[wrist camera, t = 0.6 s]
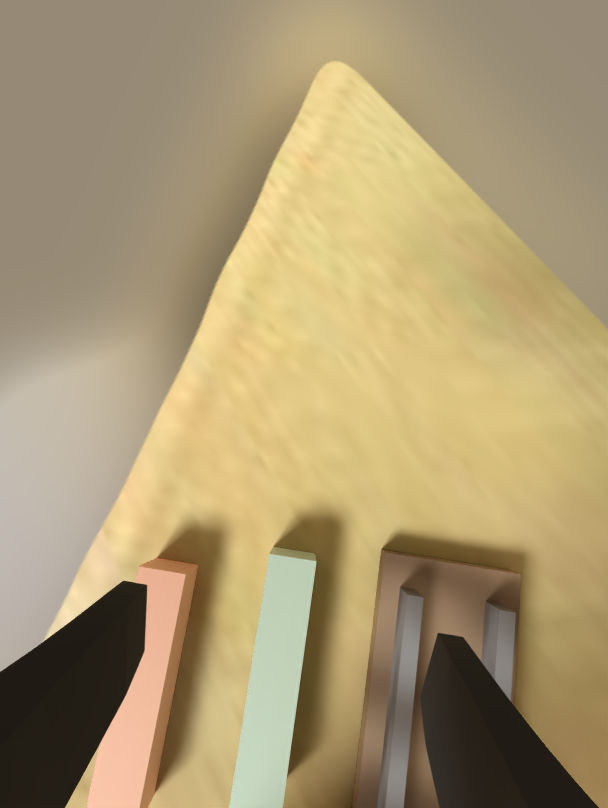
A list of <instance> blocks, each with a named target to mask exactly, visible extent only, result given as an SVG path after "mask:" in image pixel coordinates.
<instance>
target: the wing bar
mask: <svg viewBox="0 0 608 808" xmlns="http://www.w3.org/2000/svg"><path fill="white" fill-rule="evenodd" d="M197 571H198V565H197V564H191V563H185V562H179V561H173V560H167V559H161V558H155V559H153V560H151V561H149V562H147V563H145V564H143V565H141V566H139V568H138V572H137V577H136V582H135V583H140V584H146V585H147V609H146V632H145V651H144V654H143V656H142V659H141V661H140V663H139V666H138V668H137V671H136V673H135V676H134V678H133V680H132V683H131V685H130V687H129V689H128V692H127V694H126V696H125V698H124V700H123V702H122V704H121V706H120V708H119V709H118V711H117V713H116V715H115V717H114V719H113V720H112V722H111V724H110V726H109V728H108V730H107V732H106V733H105V735H104V737H103V739H102V741H101V743H100V746H99V751H98V756H97V760H96V765H95V769H94V774H93V779H92V783H91V788H90V792H89V797H88V801H87V806H86V808H148V806H149V804H150V802H151V800H152V798H153V796H154V794H155V788H156V783H157V778H158V773H159V768H160V762H161V757H162V752H163V747H164V742H165V737H166V731H167V726H168V721H169V716H170V711H171V705H172V700H173V695H174V690H175V685H176V680H177V674H178V669H179V664H180V659H181V654H182V648H183V643H184V638H185V633H186V628H187V622H188V617H189V612H190V607H191V602H192V597H193V591H194V586H195V581H196V576H197Z"/></svg>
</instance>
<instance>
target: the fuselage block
mask: <svg viewBox="0 0 608 808" xmlns="http://www.w3.org/2000/svg"><path fill="white" fill-rule="evenodd" d="M316 562H317V561H316V554H315V553H310V552H304V551H298V550H291V549H285V548H279V547H273V548H272V550H271V552H270V554H269V559H268V566H267V572H266V578H265V585H264V591H263V597H262V604H261V610H260V616H259V622H258V629H257V635H256V641H255V648H254V654H253V660H252V667H251V673H250V679H249V686H248V692H247V698H246V705H245V711H244V717H243V724H242V730H241V736H240V742H239V749H238V755H237V761H236V768H235V774H234V780H233V787H232V793H231V799H230V806H229V808H283V802H284V794H285V787H286V780H287V773H288V765H289V758H290V751H291V743H292V736H293V729H294V722H295V714H296V707H297V700H298V693H299V685H300V678H301V671H302V664H303V656H304V649H305V642H306V635H307V627H308V620H309V613H310V605H311V598H312V591H313V584H314V576H315V569H316Z"/></svg>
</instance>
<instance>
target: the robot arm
mask: <svg viewBox="0 0 608 808" xmlns="http://www.w3.org/2000/svg"><path fill="white" fill-rule="evenodd" d="M146 609H147V585H146V584H140V583H134V582H128V581H123V582H121V583H120V584H118V585H117V586H116V587H114V588H113V589H112V590H111V591H109V592H108V593H107V594H105V595H104V596H103V597H102V598H100V599H99V600H98V601H96V602H95V603H94V604H93V605H91V606H90V607H89V608H88V609H86V610H85V611H84V612H82V613H81V614H80V615H78V616H77V617H76V618H75V619H73V620H72V621H71V622H69V623H68V624H67V625H65V626H64V627H63V628H61V629H60V630H59V631H57V632H56V633H55V634H53V635H52V636H51V637H49V638H48V639H47V640H45V641H44V642H43V643H41V644H40V645H38V646H37V647H36V648H34V649H33V650H32V651H30V652H28V653H27V654H26V655H24V656H23V657H21V658H20V659H19V660H17V661H15V662H14V663H13V664H11V665H10V666H8V667H7V668H6V669H4V670H3V671H1V672H0V808H65V806H66V805H67V803H68V801H69V799H70V797H71V795H72V794H73V792H74V790H75V788H76V786H77V785H78V783H79V781H80V779H81V777H82V775H83V774H84V772H85V770H86V768H87V766H88V764H89V763H90V761H91V759H92V757H93V755H94V753H95V752H96V750H97V748H98V746H99V744H100V743H101V741H102V739H103V737H104V735H105V733H106V732H107V730H108V728H109V726H110V724H111V722H112V720H113V719H114V717H115V715H116V713H117V711H118V709H119V708H120V706H121V704H122V702H123V700H124V698H125V696H126V694H127V692H128V689H129V687H130V685H131V683H132V680H133V678H134V676H135V673H136V671H137V668H138V666H139V663H140V661H141V659H142V656H143V654H144V651H145V632H146ZM420 703H421V712H422V720H423V729H424V736H425V744H426V750H427V754H428V759H429V764H430V768H431V772H432V777H433V781H434V786H435V790H436V795H437V799H438V803H439V808H599V807H598V806H597V805H596V804H595V803H594V802H593V801H592V800H591V799H590V797H589V796H588V795H587V794H586V793H585V792H584V791H583V789H582V788H581V787H580V786H579V785H578V784H577V783H576V782H575V780H574V779H573V778H572V777H571V776H570V774H569V773H568V772H567V771H566V770H565V768H564V767H563V766H562V765H561V764H560V763H559V761H558V760H557V759H556V758H555V757H554V755H553V754H552V753H551V752H550V751H549V749H548V748H547V747H546V746H545V744H544V743H543V742H542V741H541V740H540V738H539V737H538V736H537V735H536V733H535V732H534V731H533V730H532V728H531V727H530V726H529V724H528V723H527V722H526V721H525V719H524V718H523V717H522V715H521V714H520V713H519V712H518V710H517V709H516V708H515V706H514V705H513V704H512V702H511V701H510V700H509V698H508V697H507V696H506V694H505V693H504V692H503V690H502V689H501V688H500V686H499V685H498V684H497V682H496V681H495V680H494V678H493V677H492V676H491V674H490V673H489V672H488V670H487V669H486V667H485V666H484V665H483V663H482V662H481V661H480V659H479V658H478V656H477V655H476V654H475V652H474V651H473V650H472V648H471V647H470V645H469V644H468V643H467V641H466V640H465V639H464V637H461V636H455V635H449V634H443V633H438V634H437V637H436V641H435V645H434V648H433V652H432V655H431V659H430V663H429V666H428V670H427V673H426V677H425V681H424V684H423V688H422V691H421V695H420Z"/></svg>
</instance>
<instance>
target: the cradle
mask: <svg viewBox="0 0 608 808" xmlns="http://www.w3.org/2000/svg"><path fill="white" fill-rule="evenodd" d="M520 586H521V574H519V573H516V572H514V571H511V570H507V569H501V568H495V567H489V566H482V565H476V564H470V563H464V562H458V561H451V560H445V559H439V558H433V557H427V556H421V555H414V554H408V553H402V552H396V551H390V550H384V549H381V557H380V566H379V575H378V584H377V592H376V601H375V610H374V618H373V627H372V636H371V644H370V653H369V662H368V671H367V679H366V688H365V697H364V705H363V714H362V723H361V731H360V740H359V749H358V758H357V766H356V775H355V784H354V792H353V801H352V808H439V803H438V799H437V795H436V790H435V786H434V781H433V777H432V772H431V768H430V764H429V759H428V754H427V750H426V744H425V736H424V729H423V720H422V712H421V703H420V695H421V691H422V688H423V684H424V681H425V677H426V673H427V670H428V666H429V663H430V659H431V655H432V652H433V648H434V645H435V641H436V637H437V634H438V633H443V634H449V635H455V636H461V637H464V639H465V640H466V641H467V643H468V644H469V645H470V647H471V648H472V650H473V651H474V652H475V654H476V655H477V656H478V658H479V659H480V661H481V662H482V663H483V665H484V666H485V667H486V669H487V670H488V672H489V673H490V674H491V676H492V677H493V678H494V680H495V681H496V682H497V684H498V685H499V686H500V688H501V689H502V690H503V692H504V693H505V694H506V696H507V697H508V698H509V700H510V701H511V702H512V704H513V705H514V696H515V678H516V659H517V641H518V623H519V605H520Z"/></svg>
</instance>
